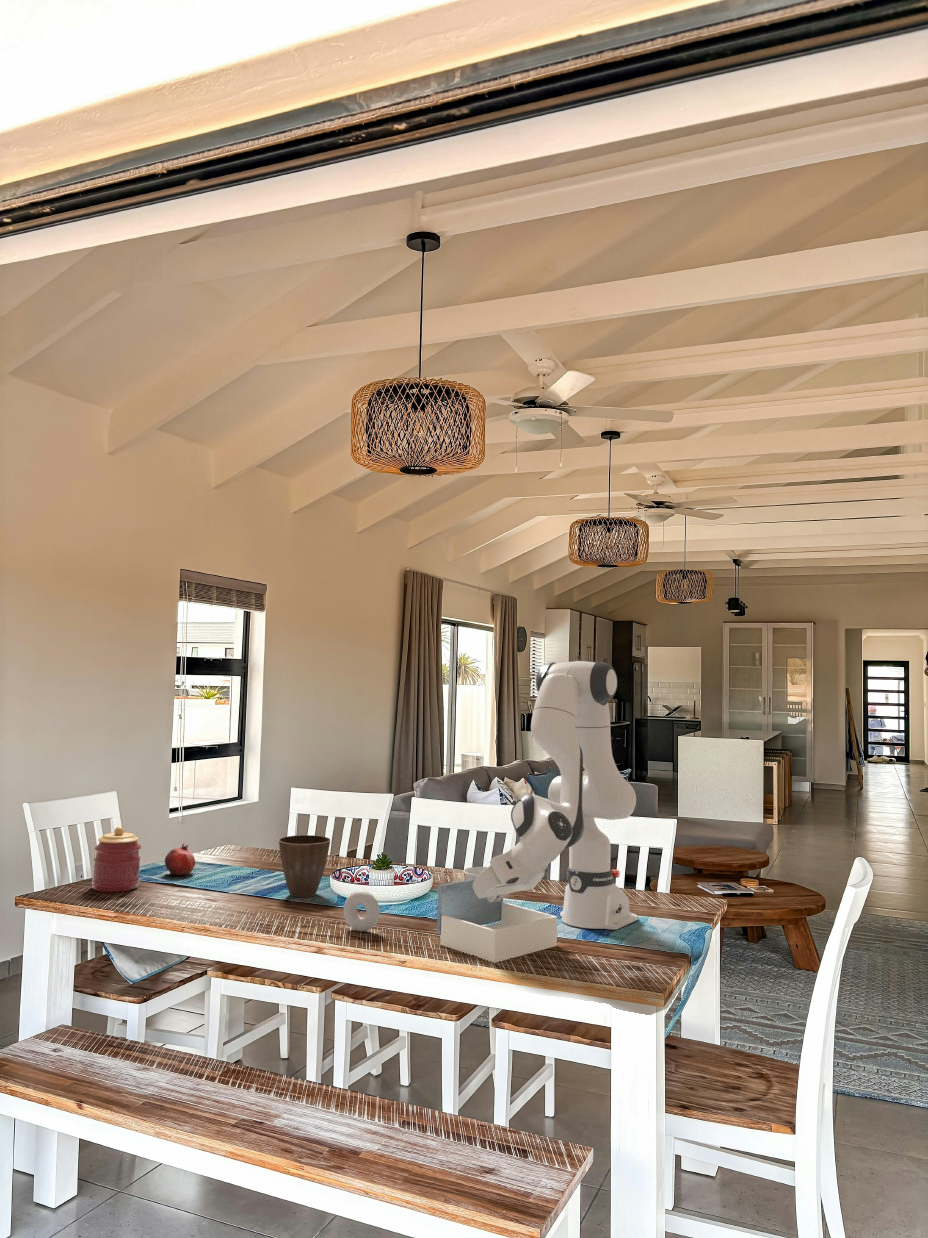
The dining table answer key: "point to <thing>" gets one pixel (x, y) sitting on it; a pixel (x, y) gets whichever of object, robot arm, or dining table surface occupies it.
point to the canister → (116, 862)
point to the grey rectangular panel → (466, 904)
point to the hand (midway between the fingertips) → (492, 899)
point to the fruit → (180, 861)
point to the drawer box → (501, 934)
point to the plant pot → (303, 862)
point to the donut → (371, 909)
